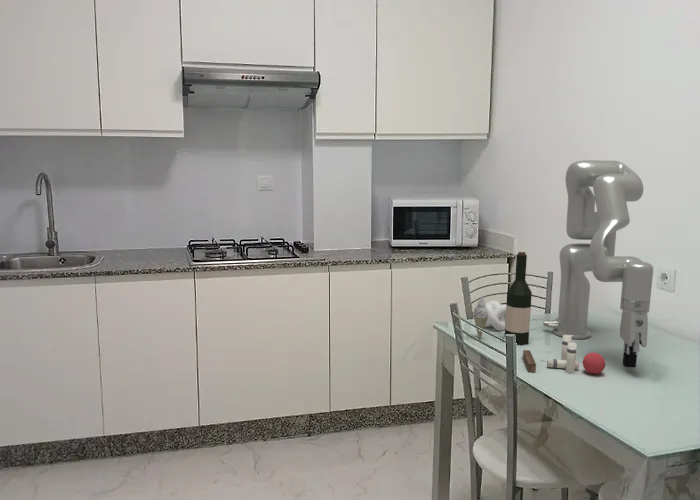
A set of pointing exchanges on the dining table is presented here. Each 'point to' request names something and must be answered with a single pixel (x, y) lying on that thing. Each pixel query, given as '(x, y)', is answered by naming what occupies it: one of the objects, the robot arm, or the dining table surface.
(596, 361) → the ball
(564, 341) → the back pin far
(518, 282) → the wine bottle
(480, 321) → the ice cream cone
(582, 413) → the dining table surface
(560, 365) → the front pin
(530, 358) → the back wall
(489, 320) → the white knot
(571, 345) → the back pin near
